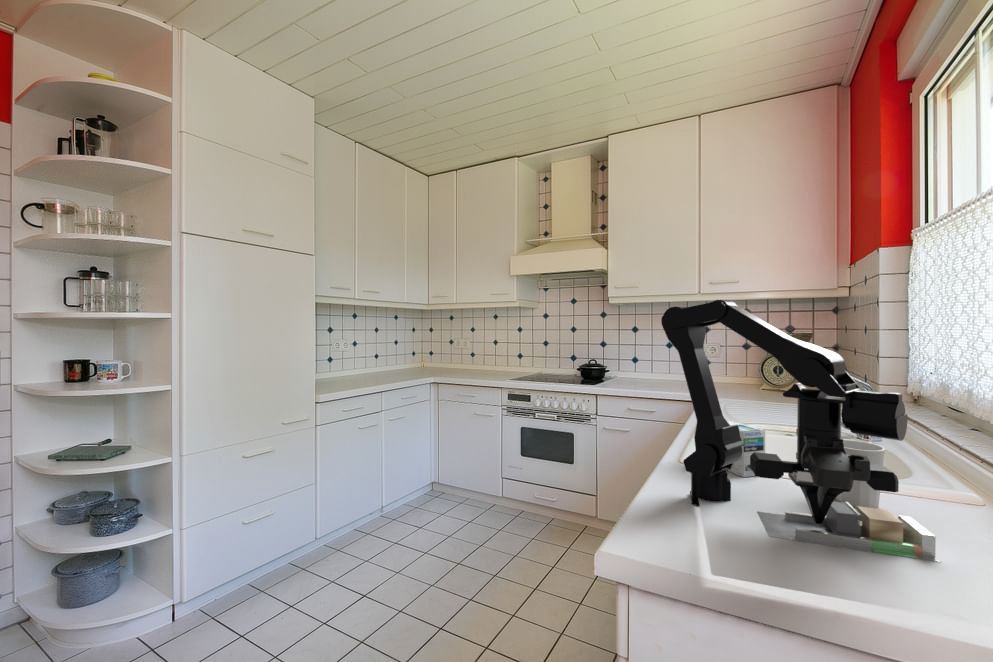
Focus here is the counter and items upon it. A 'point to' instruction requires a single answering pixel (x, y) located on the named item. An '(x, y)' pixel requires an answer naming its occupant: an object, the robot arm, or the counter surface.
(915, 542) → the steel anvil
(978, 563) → the counter surface
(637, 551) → the counter surface
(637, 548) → the counter surface
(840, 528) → the plunger
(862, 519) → the block
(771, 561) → the counter surface
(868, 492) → the cup
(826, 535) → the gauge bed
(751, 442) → the light bulb box
